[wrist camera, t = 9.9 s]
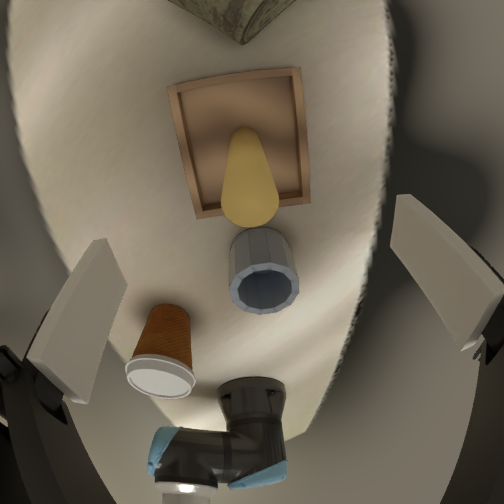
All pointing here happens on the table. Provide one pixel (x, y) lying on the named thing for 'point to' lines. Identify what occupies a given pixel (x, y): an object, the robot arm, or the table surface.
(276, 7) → the tabletop clock
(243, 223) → the dowel
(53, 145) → the table surface
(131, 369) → the disposable coffee cup
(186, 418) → the table surface
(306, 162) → the tray
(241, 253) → the pen cup
